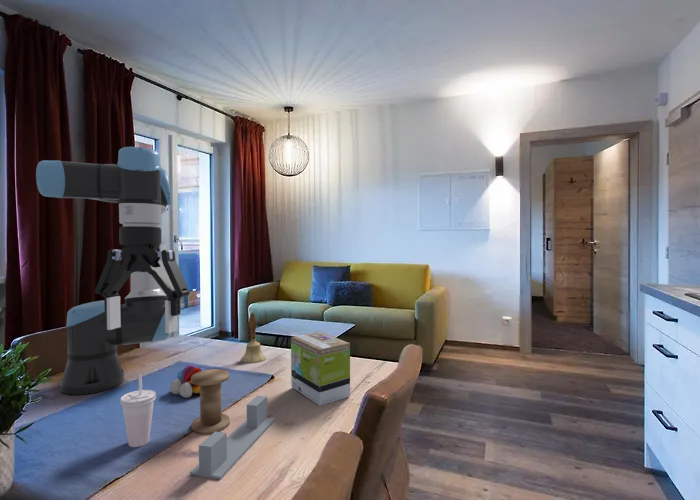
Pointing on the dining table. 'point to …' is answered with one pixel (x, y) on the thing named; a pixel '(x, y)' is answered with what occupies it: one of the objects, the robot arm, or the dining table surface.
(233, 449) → the board with upright blocks
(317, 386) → the tea box
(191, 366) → the rainbow toy
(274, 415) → the dining table surface
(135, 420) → the smoothie
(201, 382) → the bobbin
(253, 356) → the hand bell
